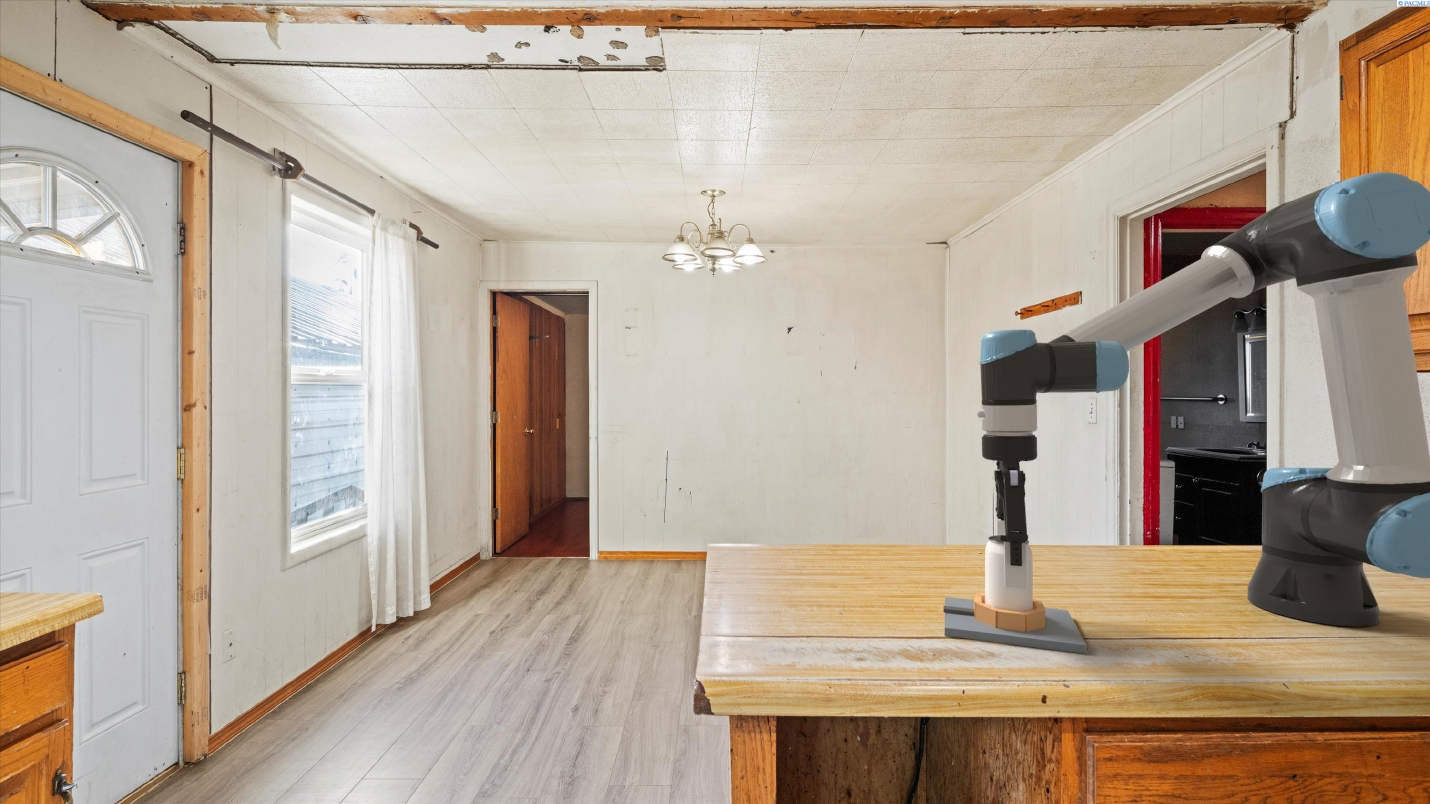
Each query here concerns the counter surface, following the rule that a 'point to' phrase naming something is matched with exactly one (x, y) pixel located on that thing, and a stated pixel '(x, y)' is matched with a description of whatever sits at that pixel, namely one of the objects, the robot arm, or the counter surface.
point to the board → (1012, 625)
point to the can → (995, 579)
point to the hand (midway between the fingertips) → (1010, 573)
